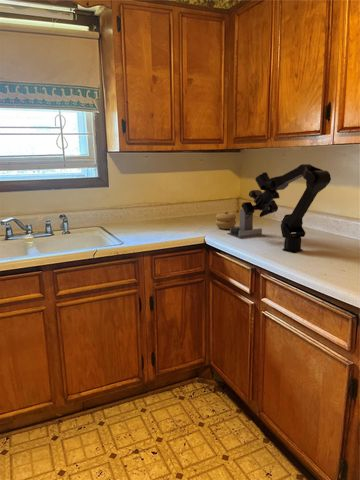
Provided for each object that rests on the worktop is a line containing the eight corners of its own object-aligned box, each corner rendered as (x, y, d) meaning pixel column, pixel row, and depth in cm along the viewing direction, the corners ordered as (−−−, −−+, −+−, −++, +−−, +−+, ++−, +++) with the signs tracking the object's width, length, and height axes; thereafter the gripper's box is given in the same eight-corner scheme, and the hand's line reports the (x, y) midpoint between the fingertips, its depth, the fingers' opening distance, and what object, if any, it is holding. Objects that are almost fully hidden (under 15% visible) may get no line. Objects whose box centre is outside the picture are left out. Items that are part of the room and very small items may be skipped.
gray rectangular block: (252, 234, 197) (253, 209, 194) (244, 235, 195) (245, 210, 192) (246, 232, 201) (247, 208, 198) (238, 233, 199) (239, 209, 196)
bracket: (264, 235, 196) (265, 229, 195) (240, 238, 189) (241, 232, 189) (250, 231, 207) (250, 224, 206) (226, 233, 201) (227, 227, 200)
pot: (219, 225, 223) (219, 209, 220) (238, 227, 218) (239, 210, 215) (212, 229, 212) (212, 212, 210) (232, 231, 207) (232, 213, 205)
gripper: (275, 183, 186) (260, 203, 199) (244, 185, 179) (231, 206, 191) (285, 201, 181) (269, 220, 193) (253, 203, 173) (239, 223, 186)
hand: (252, 217), depth 191 cm, fingers open, 9 cm apart
